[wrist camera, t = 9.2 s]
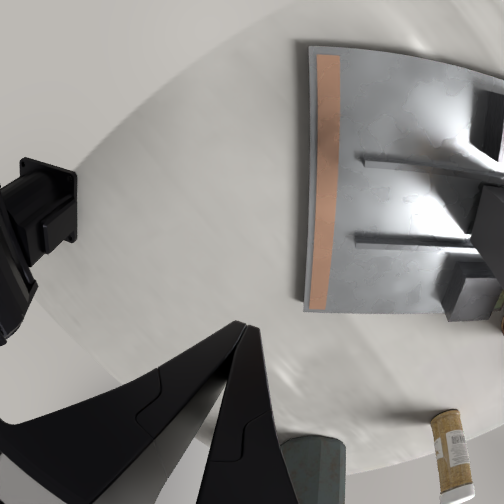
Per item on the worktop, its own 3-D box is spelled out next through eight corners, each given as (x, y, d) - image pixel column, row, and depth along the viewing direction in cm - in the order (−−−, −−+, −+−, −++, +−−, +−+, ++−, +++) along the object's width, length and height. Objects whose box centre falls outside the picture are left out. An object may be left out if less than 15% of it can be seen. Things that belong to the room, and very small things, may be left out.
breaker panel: (303, 303, 24) (302, 331, 22) (308, 47, 14) (309, 42, 12) (496, 303, 21) (508, 326, 19) (550, 100, 12) (576, 109, 9)
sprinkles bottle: (423, 422, 33) (433, 510, 22) (448, 406, 31) (463, 498, 20) (442, 426, 34) (452, 507, 23) (465, 410, 31) (481, 495, 20)
